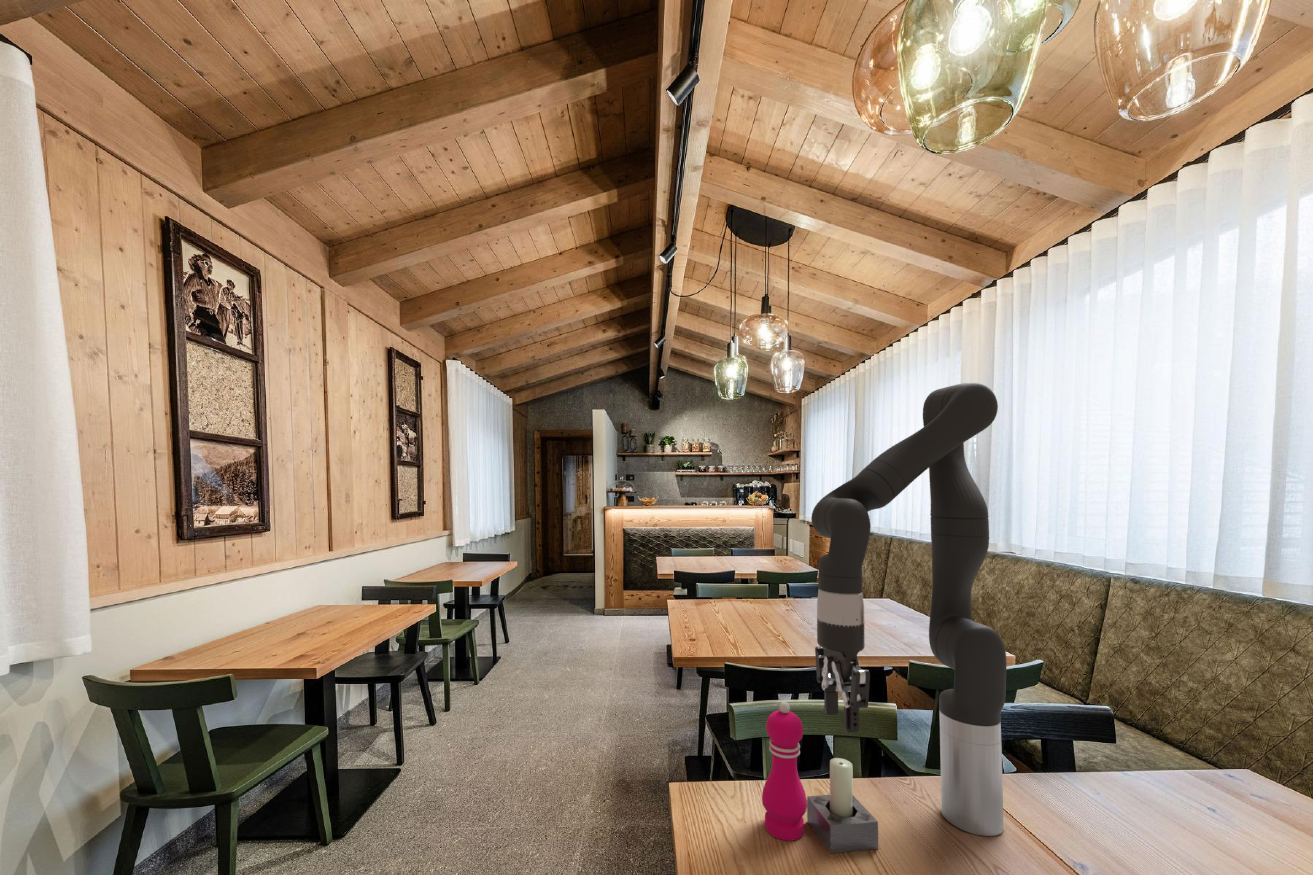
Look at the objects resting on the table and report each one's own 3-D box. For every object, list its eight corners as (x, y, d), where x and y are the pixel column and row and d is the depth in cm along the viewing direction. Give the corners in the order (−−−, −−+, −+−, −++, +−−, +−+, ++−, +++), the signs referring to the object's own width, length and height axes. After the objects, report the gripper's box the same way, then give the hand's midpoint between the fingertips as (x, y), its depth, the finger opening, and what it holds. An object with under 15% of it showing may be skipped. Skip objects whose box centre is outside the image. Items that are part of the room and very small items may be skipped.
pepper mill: (808, 846, 85) (808, 713, 86) (761, 839, 86) (762, 708, 88) (805, 818, 92) (805, 696, 93) (761, 812, 93) (762, 692, 95)
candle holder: (851, 817, 92) (851, 792, 93) (878, 848, 84) (877, 821, 85) (807, 821, 91) (807, 796, 91) (830, 853, 83) (830, 825, 83)
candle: (835, 818, 90) (835, 755, 91) (856, 827, 88) (856, 763, 89) (825, 827, 88) (826, 762, 88) (846, 837, 85) (846, 771, 86)
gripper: (886, 628, 84) (887, 741, 83) (839, 607, 98) (840, 703, 97) (841, 629, 83) (842, 744, 82) (800, 608, 97) (800, 705, 96)
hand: (841, 721), depth 89 cm, fingers open, 6 cm apart
